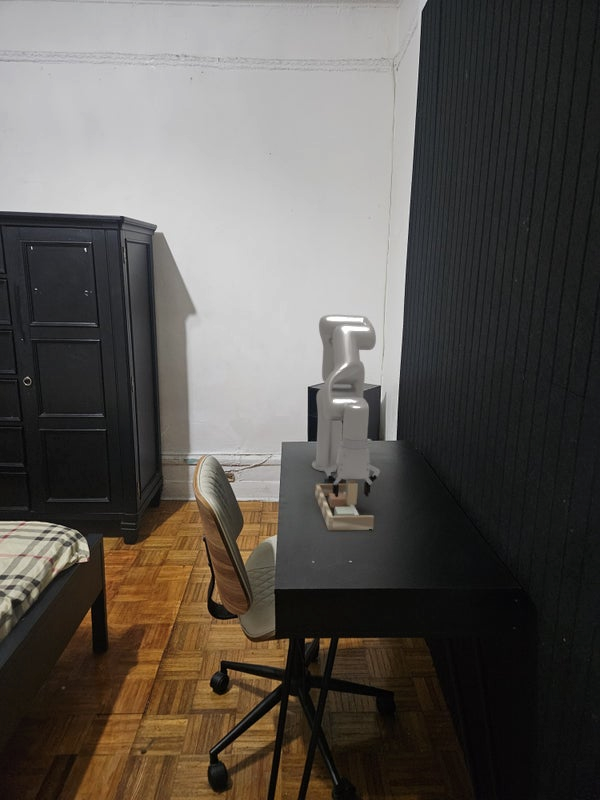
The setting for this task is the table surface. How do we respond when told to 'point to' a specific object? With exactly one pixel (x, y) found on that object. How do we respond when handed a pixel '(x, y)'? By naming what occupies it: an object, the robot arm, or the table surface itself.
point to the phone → (332, 483)
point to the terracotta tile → (337, 500)
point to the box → (340, 521)
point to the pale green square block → (343, 511)
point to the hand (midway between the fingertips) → (351, 495)
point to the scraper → (351, 494)
